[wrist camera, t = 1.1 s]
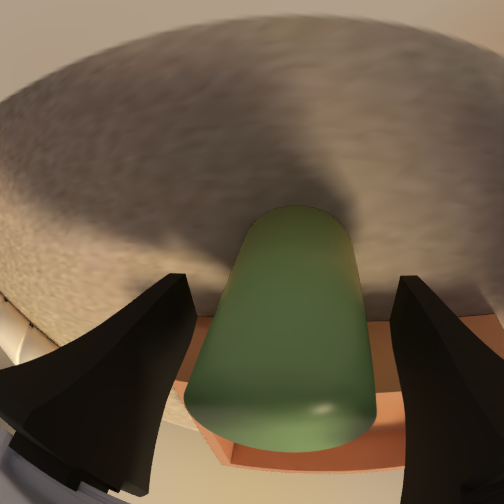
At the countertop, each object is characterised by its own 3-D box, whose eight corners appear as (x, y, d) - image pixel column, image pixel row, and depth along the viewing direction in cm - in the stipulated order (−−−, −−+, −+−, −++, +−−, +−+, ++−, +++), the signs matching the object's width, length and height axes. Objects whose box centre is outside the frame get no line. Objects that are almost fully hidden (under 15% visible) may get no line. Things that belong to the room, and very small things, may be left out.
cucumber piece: (357, 205, 10) (401, 366, 4) (348, 301, 13) (356, 452, 7) (235, 206, 11) (157, 353, 5) (248, 299, 13) (207, 442, 8)
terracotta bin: (495, 313, 11) (522, 370, 8) (428, 420, 18) (434, 463, 14) (197, 315, 15) (169, 379, 11) (232, 421, 21) (221, 464, 17)
